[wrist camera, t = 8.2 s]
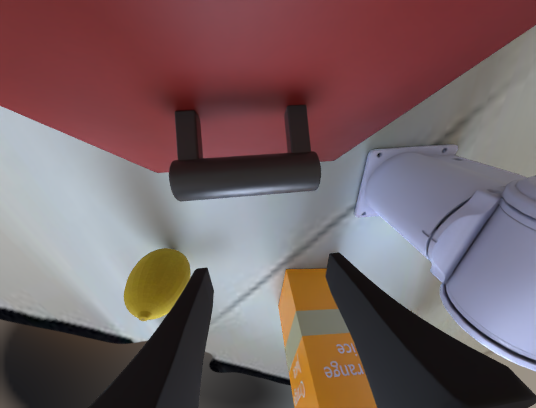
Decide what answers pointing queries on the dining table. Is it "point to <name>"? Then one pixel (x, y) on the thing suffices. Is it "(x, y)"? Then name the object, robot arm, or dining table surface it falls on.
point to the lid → (239, 78)
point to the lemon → (156, 283)
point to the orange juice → (319, 346)
